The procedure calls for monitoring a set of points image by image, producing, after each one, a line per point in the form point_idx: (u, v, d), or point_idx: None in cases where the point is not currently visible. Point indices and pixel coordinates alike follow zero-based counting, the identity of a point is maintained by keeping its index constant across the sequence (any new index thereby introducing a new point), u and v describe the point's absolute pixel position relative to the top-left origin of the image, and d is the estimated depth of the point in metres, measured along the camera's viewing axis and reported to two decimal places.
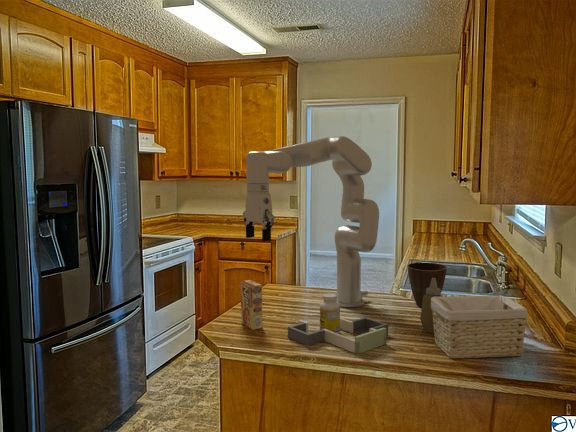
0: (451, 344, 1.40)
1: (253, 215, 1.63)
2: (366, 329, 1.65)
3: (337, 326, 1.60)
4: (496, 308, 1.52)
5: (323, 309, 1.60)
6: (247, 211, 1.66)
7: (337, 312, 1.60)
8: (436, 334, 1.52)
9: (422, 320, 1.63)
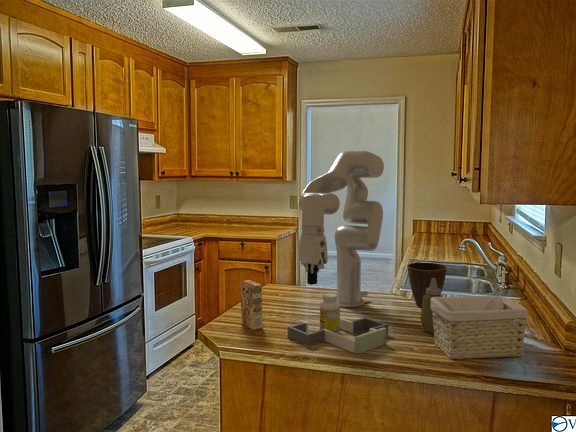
0: (451, 345, 1.39)
1: (308, 257, 1.65)
2: (366, 329, 1.65)
3: (337, 326, 1.60)
4: (496, 308, 1.52)
5: (323, 309, 1.60)
6: (301, 252, 1.68)
7: (337, 312, 1.60)
8: (436, 335, 1.51)
9: (422, 320, 1.63)
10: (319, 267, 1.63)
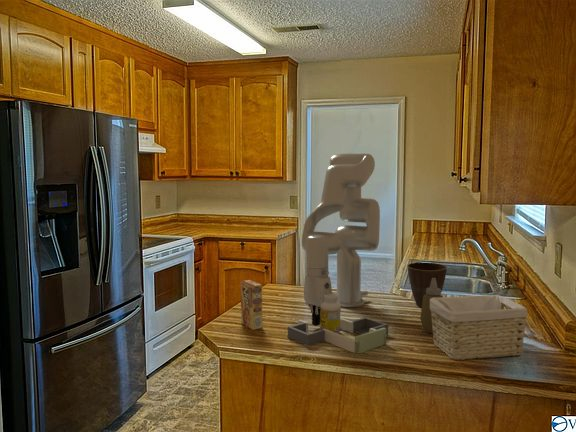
0: (454, 345, 1.39)
1: (313, 298, 1.65)
2: (366, 329, 1.65)
3: (337, 326, 1.60)
4: (493, 308, 1.53)
5: (323, 309, 1.59)
6: (306, 293, 1.67)
7: (338, 312, 1.59)
8: (435, 335, 1.51)
9: (422, 320, 1.63)
10: None
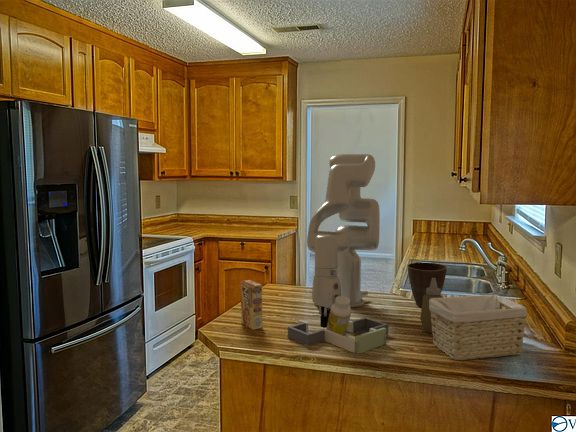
0: (456, 346, 1.38)
1: (321, 299, 1.60)
2: (366, 329, 1.65)
3: (345, 330, 1.57)
4: (491, 307, 1.53)
5: (333, 314, 1.54)
6: (314, 294, 1.63)
7: (348, 318, 1.55)
8: (435, 336, 1.50)
9: (422, 320, 1.63)
10: None
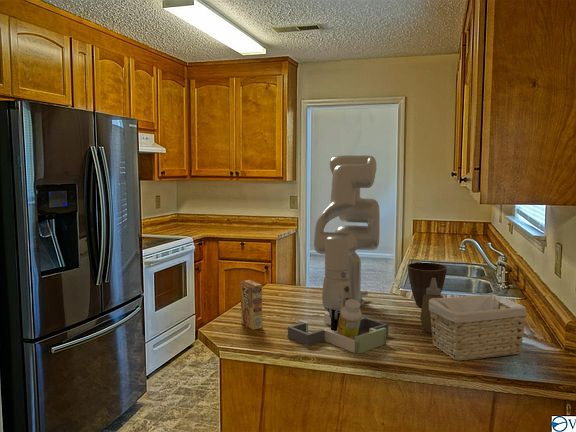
0: (457, 346, 1.38)
1: (332, 303, 1.56)
2: (366, 329, 1.65)
3: (355, 334, 1.53)
4: (490, 307, 1.54)
5: (342, 317, 1.51)
6: (325, 297, 1.59)
7: (357, 322, 1.51)
8: (435, 336, 1.50)
9: (422, 320, 1.63)
10: None
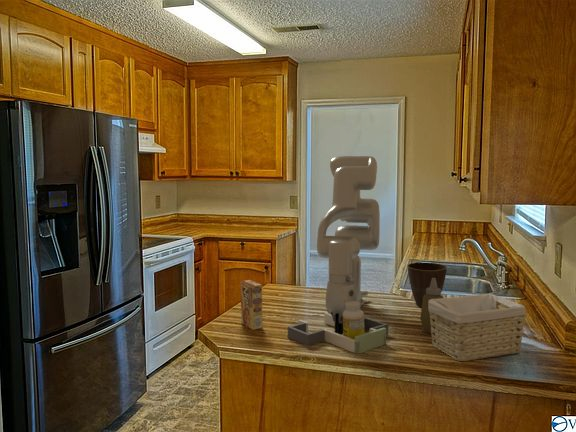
0: (459, 347, 1.38)
1: (336, 307, 1.56)
2: (366, 329, 1.65)
3: None
4: (487, 307, 1.54)
5: (345, 318, 1.51)
6: (328, 301, 1.59)
7: (360, 321, 1.50)
8: (435, 337, 1.49)
9: (422, 320, 1.63)
10: None
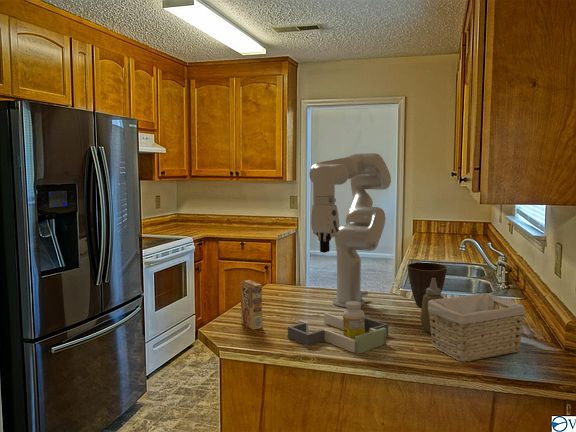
0: (462, 348, 1.37)
1: (321, 226, 1.71)
2: (366, 329, 1.65)
3: None
4: (485, 306, 1.54)
5: (345, 317, 1.51)
6: (313, 222, 1.74)
7: (360, 321, 1.50)
8: (435, 338, 1.48)
9: (422, 320, 1.63)
10: (332, 235, 1.70)
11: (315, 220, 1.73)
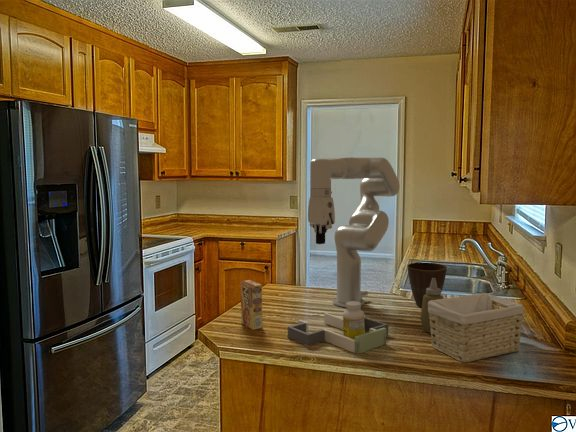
0: (464, 348, 1.37)
1: (317, 218, 1.75)
2: (366, 329, 1.65)
3: None
4: (483, 306, 1.55)
5: (345, 318, 1.51)
6: (310, 214, 1.78)
7: (360, 322, 1.50)
8: (435, 339, 1.48)
9: (422, 320, 1.63)
10: (327, 227, 1.74)
11: (311, 212, 1.77)
